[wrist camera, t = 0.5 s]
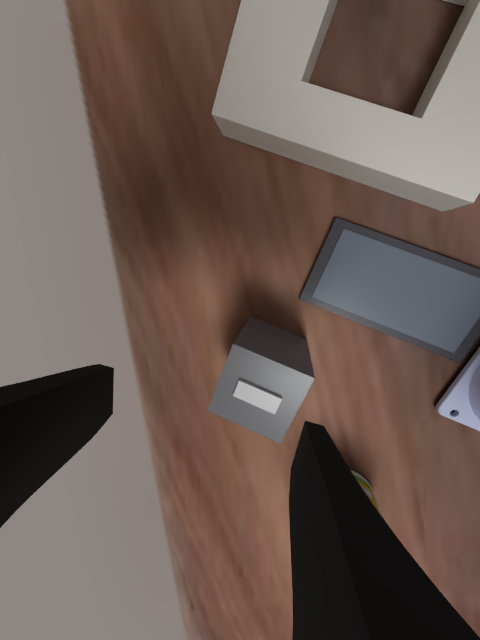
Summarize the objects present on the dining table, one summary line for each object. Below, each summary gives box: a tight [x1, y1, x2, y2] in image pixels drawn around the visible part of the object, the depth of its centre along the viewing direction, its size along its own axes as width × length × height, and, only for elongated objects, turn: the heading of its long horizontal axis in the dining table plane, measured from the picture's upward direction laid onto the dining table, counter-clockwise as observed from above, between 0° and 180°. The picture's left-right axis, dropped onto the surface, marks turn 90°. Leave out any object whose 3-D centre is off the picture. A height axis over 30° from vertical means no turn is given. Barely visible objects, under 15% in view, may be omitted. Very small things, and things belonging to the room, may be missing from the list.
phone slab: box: [299, 218, 480, 363], centre depth 16 cm, size 6×11×1 cm, turn 70°
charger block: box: [207, 316, 315, 443], centre depth 16 cm, size 4×4×6 cm
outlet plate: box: [211, 0, 480, 212], centre depth 12 cm, size 14×11×3 cm
